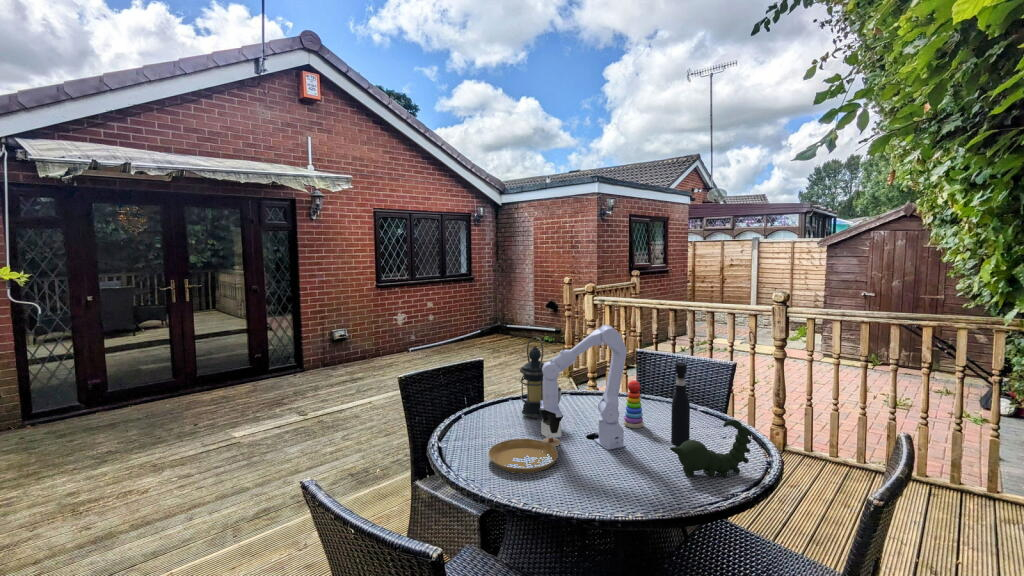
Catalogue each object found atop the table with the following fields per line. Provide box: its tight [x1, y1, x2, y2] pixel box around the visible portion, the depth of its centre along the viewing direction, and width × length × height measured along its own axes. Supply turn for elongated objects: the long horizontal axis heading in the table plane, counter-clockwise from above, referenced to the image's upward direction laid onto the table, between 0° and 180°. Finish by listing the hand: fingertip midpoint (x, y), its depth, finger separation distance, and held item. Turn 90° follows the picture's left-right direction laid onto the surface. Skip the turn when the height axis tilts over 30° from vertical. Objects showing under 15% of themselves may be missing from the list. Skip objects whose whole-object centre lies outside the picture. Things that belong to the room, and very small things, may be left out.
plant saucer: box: [487, 438, 559, 474], centre depth 164 cm, size 24×24×3 cm
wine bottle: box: [670, 362, 691, 447], centre depth 175 cm, size 6×6×30 cm
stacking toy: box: [623, 380, 645, 429], centre depth 194 cm, size 8×8×19 cm
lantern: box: [519, 336, 545, 419], centre depth 207 cm, size 14×13×35 cm
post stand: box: [541, 437, 561, 448], centre depth 178 cm, size 7×7×6 cm
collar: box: [540, 419, 562, 439], centre depth 177 cm, size 6×6×5 cm
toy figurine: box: [669, 419, 752, 479], centre depth 151 cm, size 9×19×25 cm
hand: (550, 429), depth 177 cm, fingers closed on collar, 5 cm apart
